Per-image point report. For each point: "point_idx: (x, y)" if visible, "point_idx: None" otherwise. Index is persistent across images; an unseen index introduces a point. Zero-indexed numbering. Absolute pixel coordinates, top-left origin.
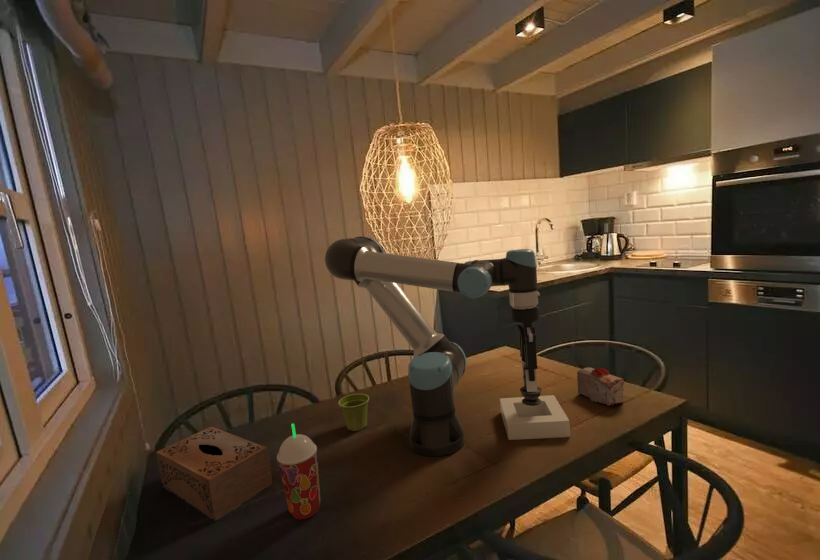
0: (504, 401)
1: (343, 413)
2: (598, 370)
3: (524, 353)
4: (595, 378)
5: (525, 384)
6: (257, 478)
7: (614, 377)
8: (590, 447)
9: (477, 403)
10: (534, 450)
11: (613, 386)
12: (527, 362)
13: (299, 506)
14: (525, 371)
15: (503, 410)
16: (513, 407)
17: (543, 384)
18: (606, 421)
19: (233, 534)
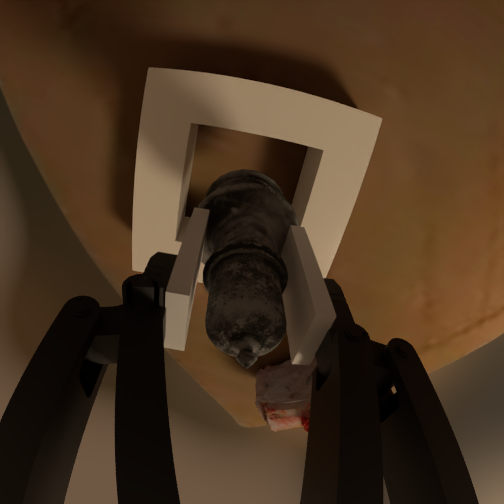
0: (349, 123)
1: None
2: None
3: (331, 397)
4: (306, 405)
5: (240, 226)
6: None
7: (282, 427)
8: (99, 261)
9: (444, 77)
10: (96, 130)
11: (260, 411)
12: (48, 343)
13: None
14: (188, 278)
15: (269, 85)
16: (281, 133)
17: (439, 297)
18: (205, 337)
19: None
